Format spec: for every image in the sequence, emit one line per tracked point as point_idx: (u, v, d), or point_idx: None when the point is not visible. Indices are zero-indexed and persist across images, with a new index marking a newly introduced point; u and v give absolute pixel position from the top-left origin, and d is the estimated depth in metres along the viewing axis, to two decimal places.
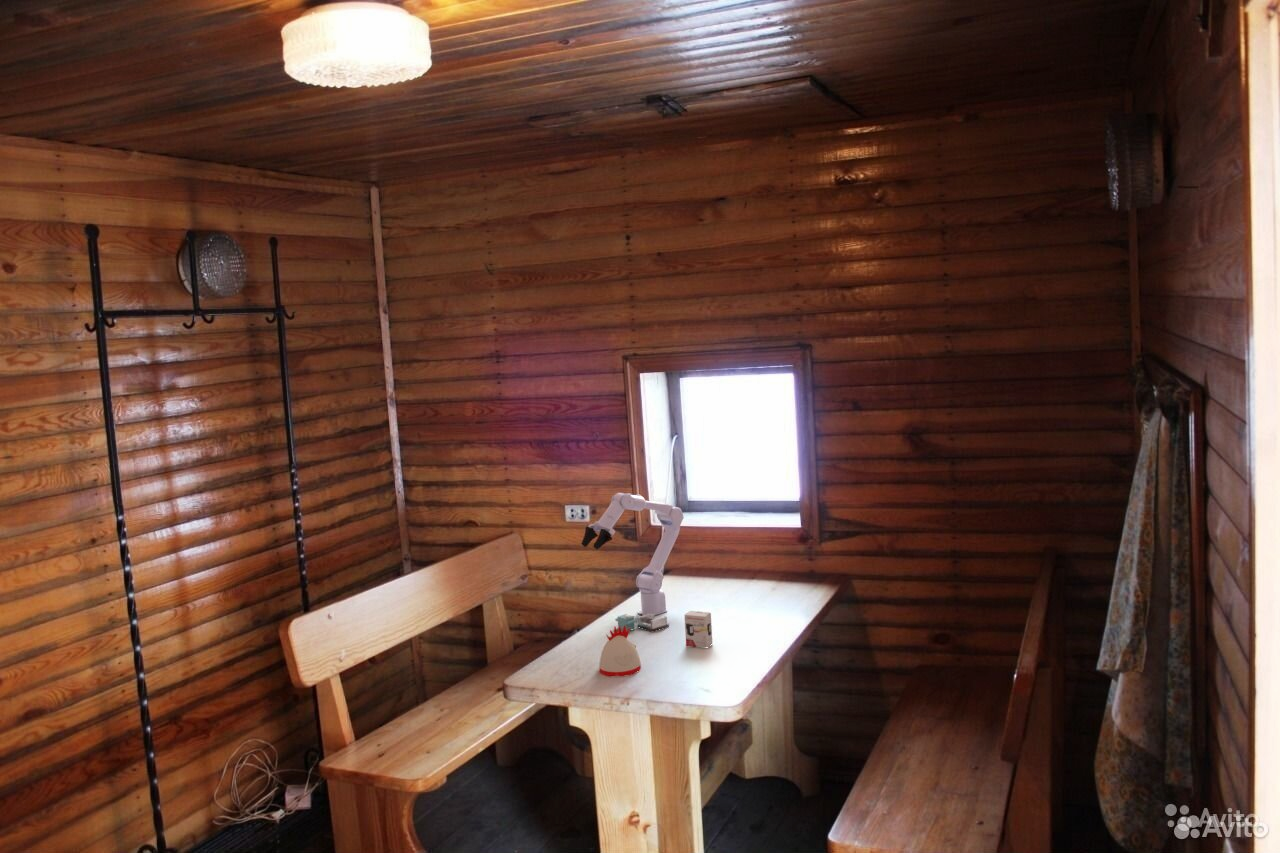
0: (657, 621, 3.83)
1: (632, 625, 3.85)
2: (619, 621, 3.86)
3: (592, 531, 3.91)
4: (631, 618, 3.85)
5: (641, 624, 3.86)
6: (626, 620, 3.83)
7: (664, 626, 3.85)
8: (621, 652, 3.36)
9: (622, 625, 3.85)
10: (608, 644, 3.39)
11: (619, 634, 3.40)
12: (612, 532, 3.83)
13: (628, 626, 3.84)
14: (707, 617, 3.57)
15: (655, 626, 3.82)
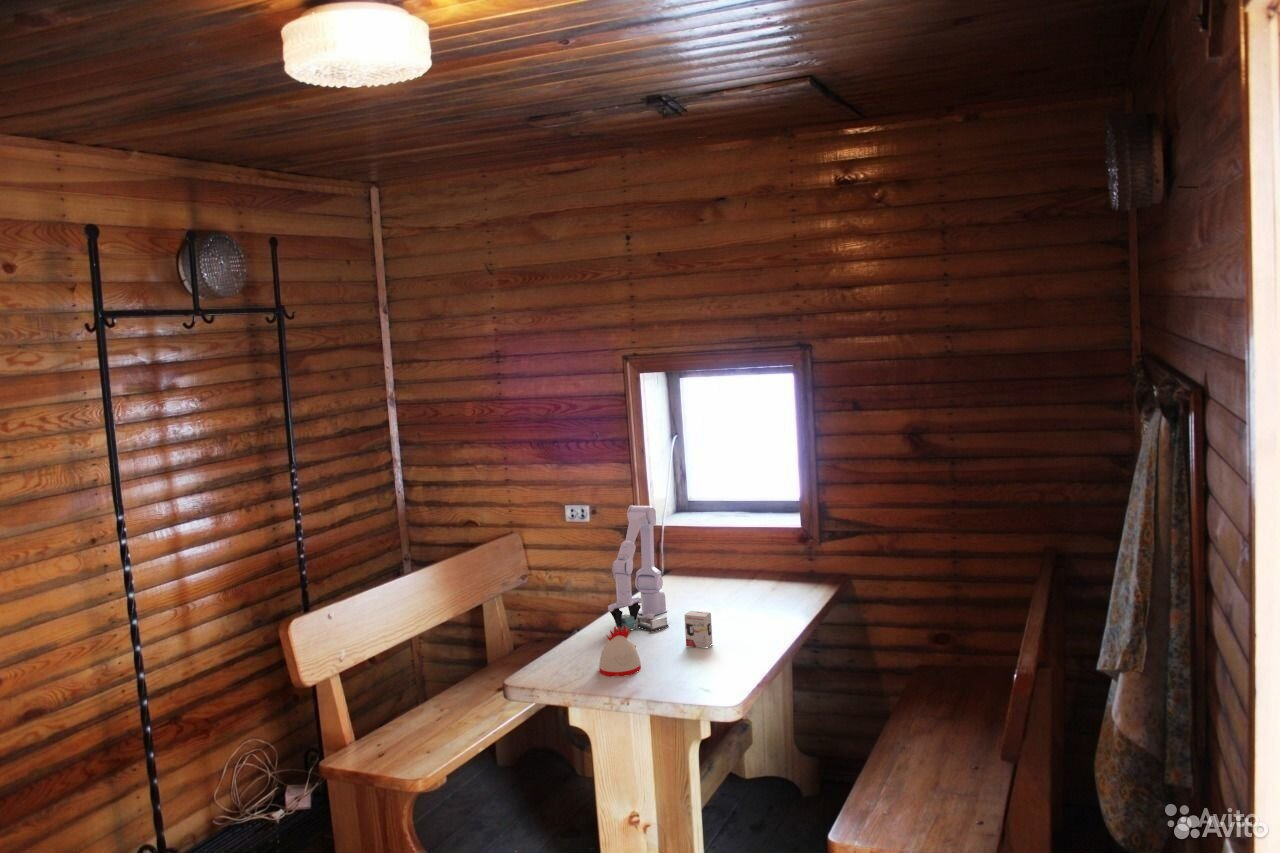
0: (657, 621, 3.83)
1: (632, 625, 3.85)
2: None
3: None
4: (631, 618, 3.85)
5: (641, 624, 3.86)
6: (626, 620, 3.83)
7: (664, 626, 3.85)
8: (621, 652, 3.36)
9: (622, 625, 3.85)
10: (608, 644, 3.39)
11: (619, 634, 3.40)
12: None
13: (628, 626, 3.84)
14: (707, 617, 3.57)
15: (655, 626, 3.82)
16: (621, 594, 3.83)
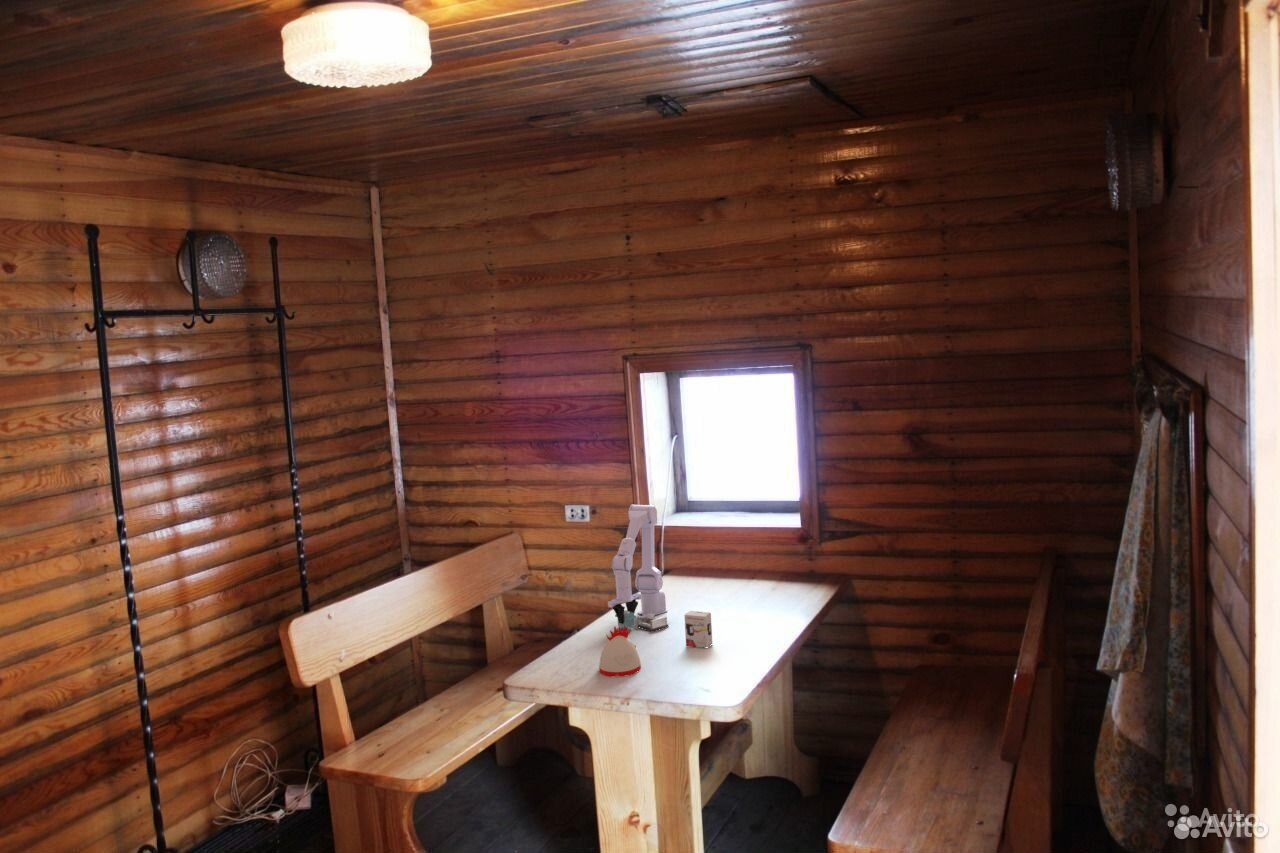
0: (657, 621, 3.83)
1: (632, 621, 3.85)
2: None
3: None
4: (631, 614, 3.85)
5: (641, 624, 3.86)
6: (626, 616, 3.83)
7: (664, 626, 3.85)
8: (621, 652, 3.36)
9: None
10: (608, 644, 3.39)
11: (619, 634, 3.40)
12: None
13: (628, 622, 3.84)
14: (706, 617, 3.57)
15: (655, 626, 3.82)
16: (621, 590, 3.82)
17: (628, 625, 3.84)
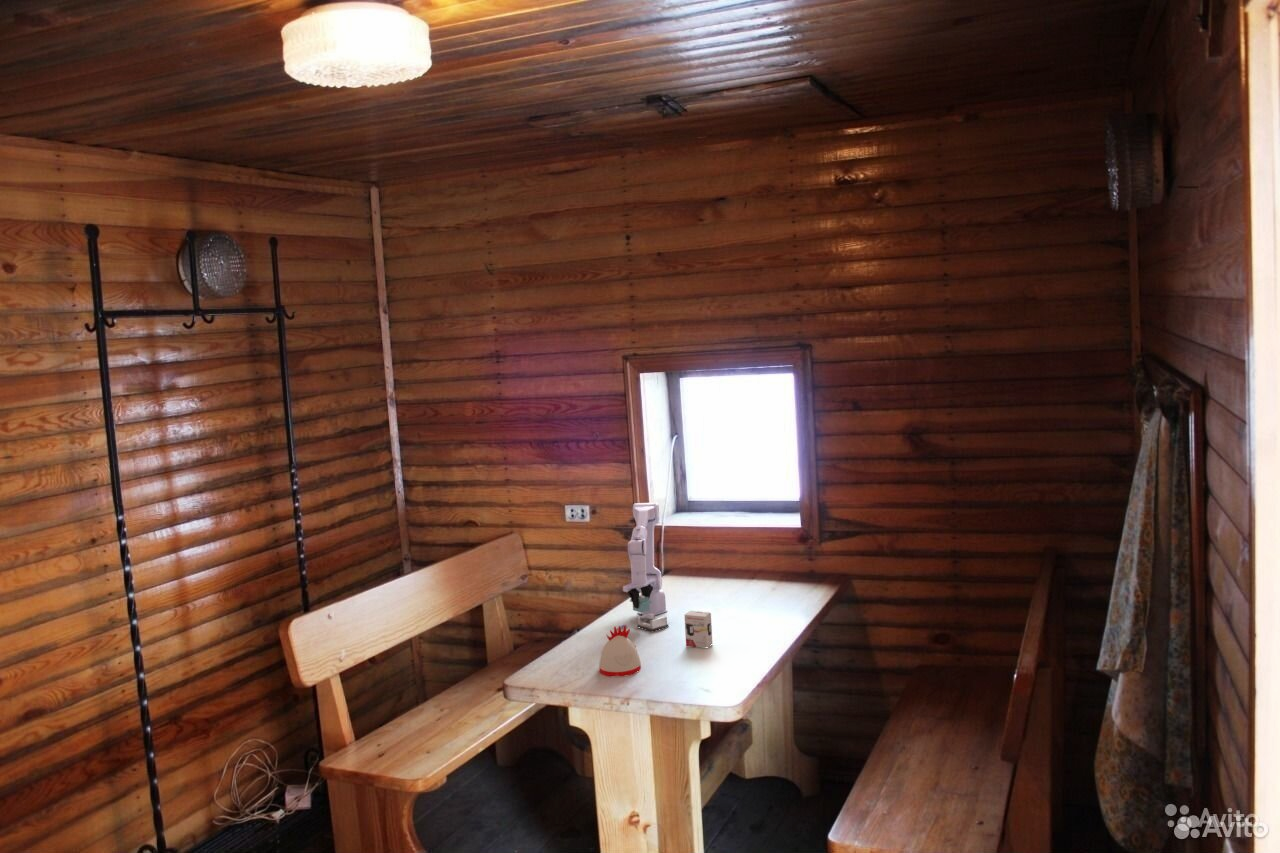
0: (657, 621, 3.83)
1: (647, 606, 3.85)
2: None
3: None
4: (645, 599, 3.84)
5: (641, 624, 3.86)
6: (641, 600, 3.83)
7: (664, 626, 3.85)
8: (621, 652, 3.36)
9: None
10: (608, 644, 3.39)
11: (619, 634, 3.40)
12: None
13: (643, 607, 3.83)
14: (707, 617, 3.57)
15: (655, 626, 3.82)
16: (636, 575, 3.82)
17: (643, 610, 3.84)
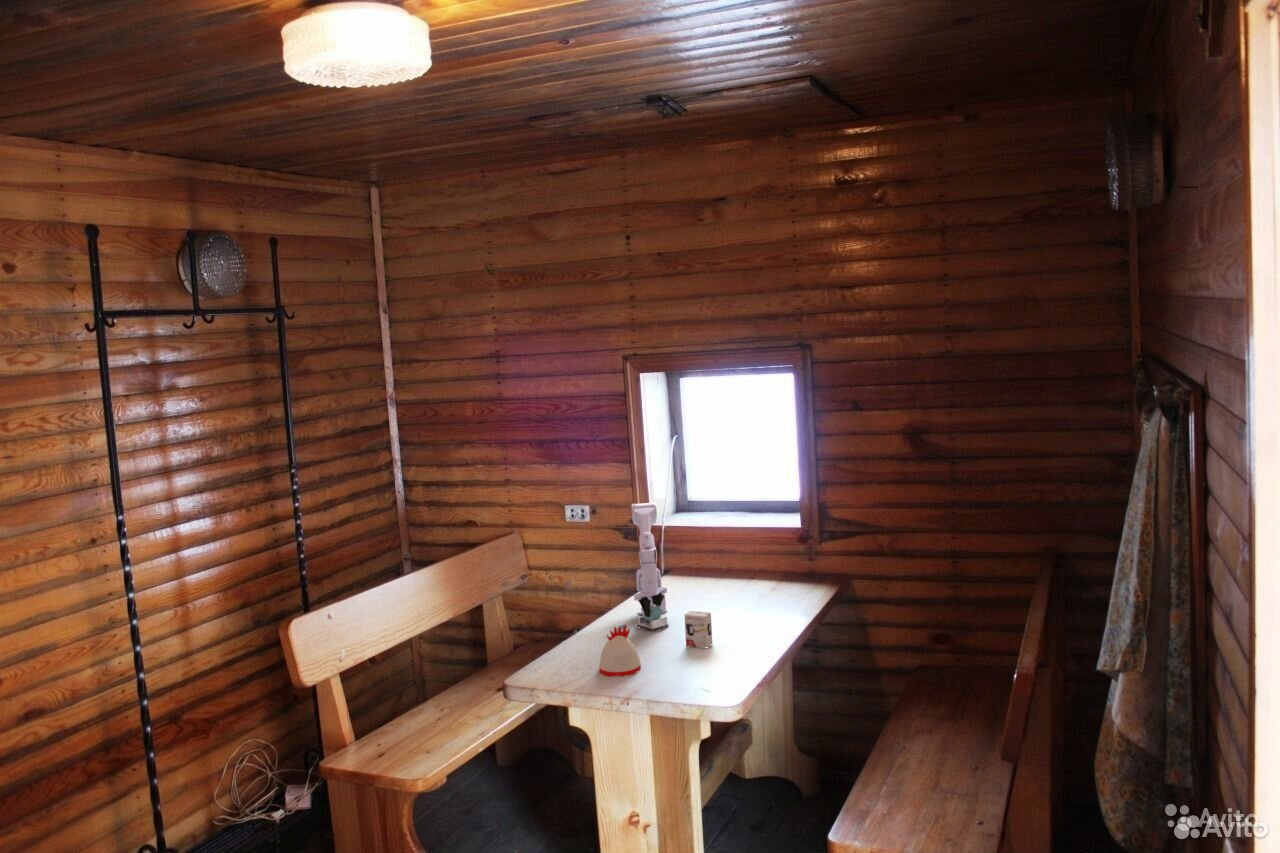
0: (657, 621, 3.83)
1: (658, 614, 3.85)
2: None
3: None
4: (657, 607, 3.85)
5: (641, 624, 3.86)
6: (652, 609, 3.83)
7: (664, 626, 3.85)
8: (621, 652, 3.36)
9: None
10: (608, 644, 3.39)
11: (619, 634, 3.40)
12: None
13: (654, 615, 3.84)
14: (707, 617, 3.57)
15: (655, 626, 3.82)
16: (647, 583, 3.83)
17: (654, 618, 3.84)
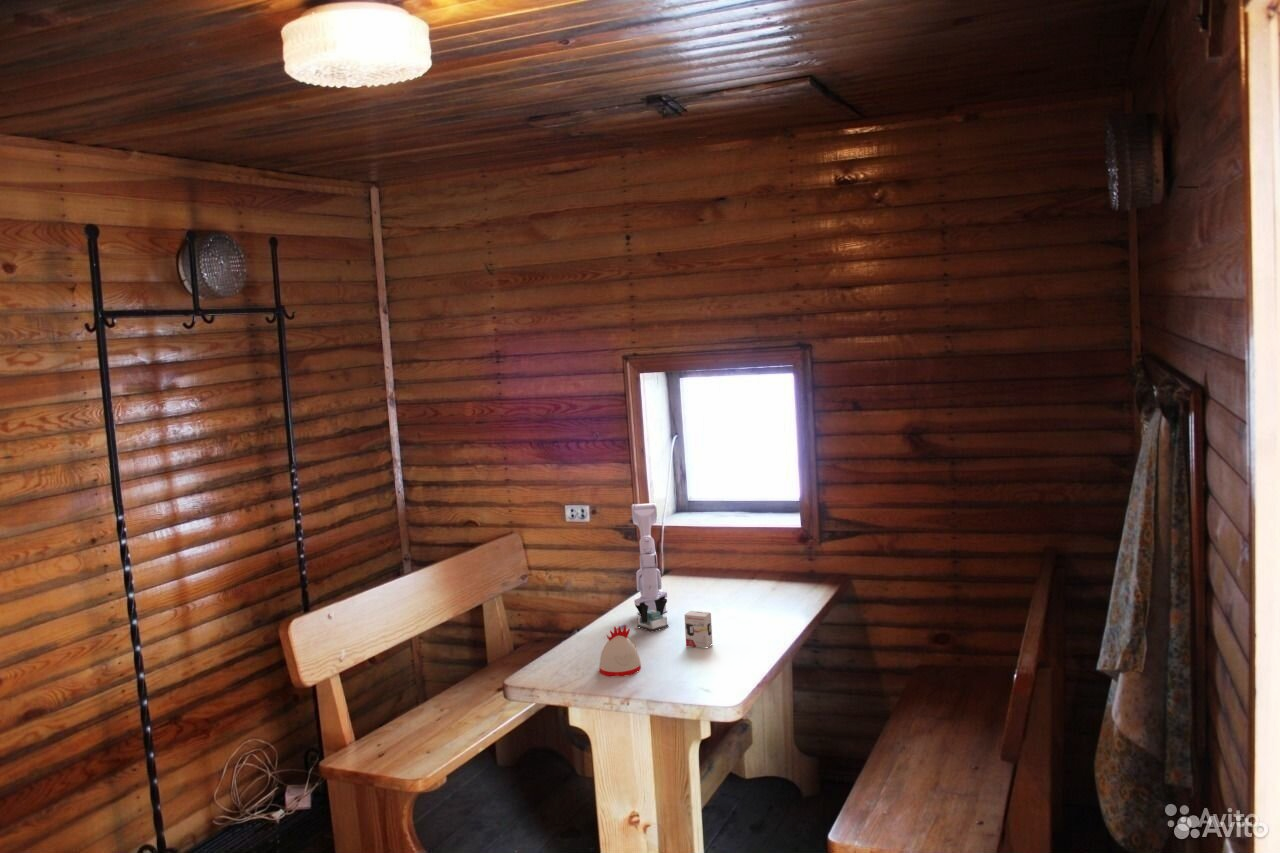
0: (657, 621, 3.83)
1: None
2: None
3: None
4: (657, 613, 3.85)
5: (641, 624, 3.86)
6: (653, 615, 3.84)
7: (664, 626, 3.85)
8: (621, 652, 3.36)
9: (648, 620, 3.85)
10: (608, 644, 3.39)
11: (619, 634, 3.40)
12: None
13: None
14: (707, 617, 3.57)
15: (655, 626, 3.82)
16: (647, 588, 3.83)
17: None
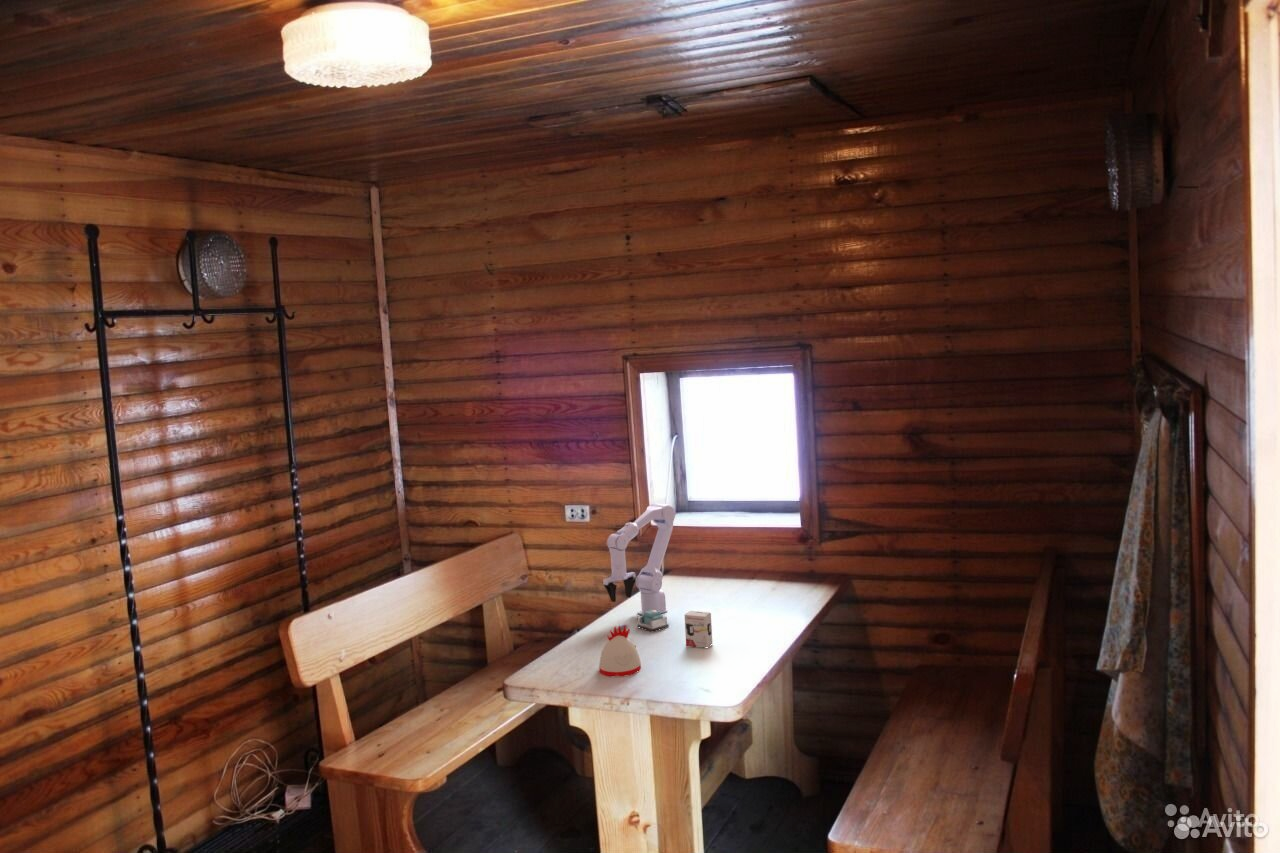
0: (657, 621, 3.83)
1: None
2: (645, 616, 3.86)
3: None
4: (657, 613, 3.85)
5: (641, 624, 3.86)
6: (653, 615, 3.84)
7: (664, 626, 3.85)
8: (621, 652, 3.36)
9: (648, 620, 3.85)
10: (608, 644, 3.39)
11: (619, 634, 3.40)
12: None
13: None
14: (706, 617, 3.57)
15: (655, 626, 3.82)
16: (616, 568, 3.91)
17: None
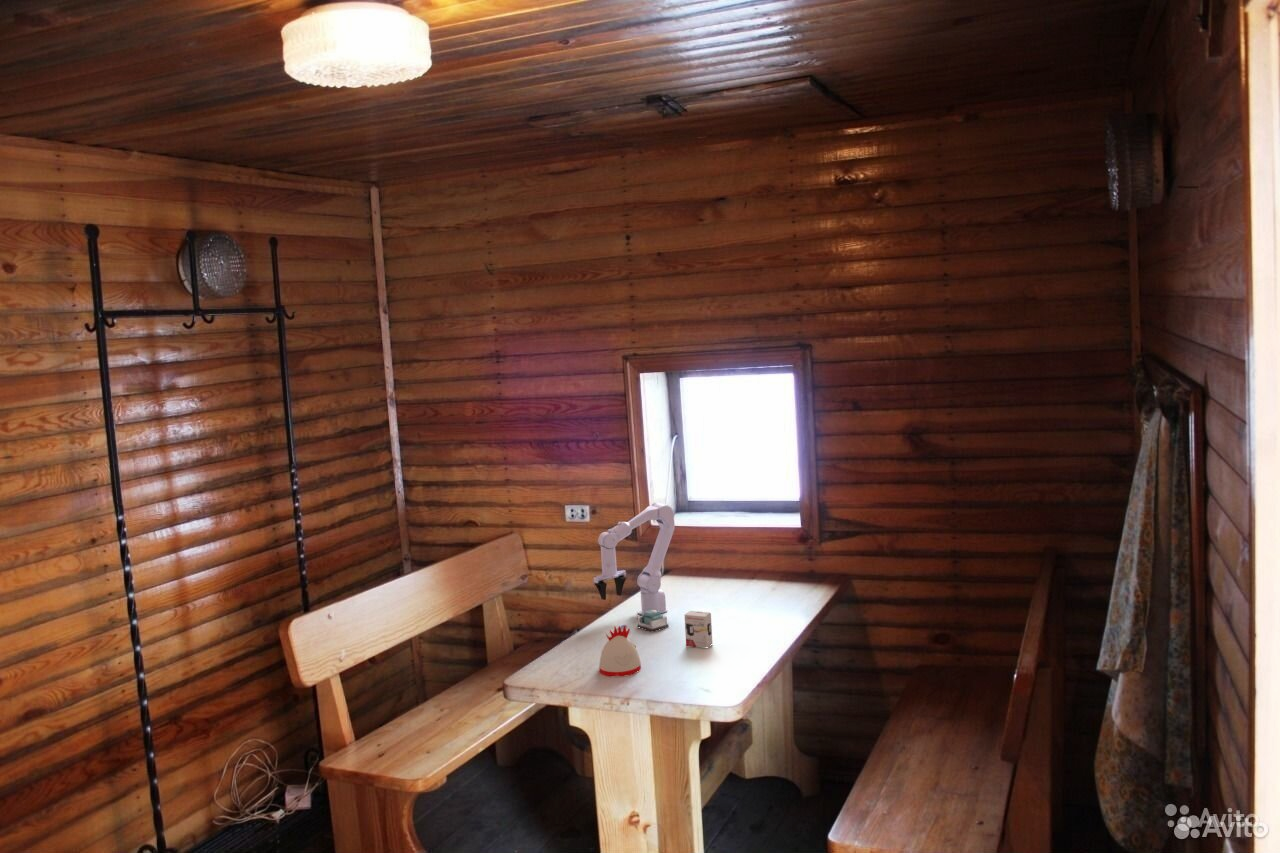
0: (657, 621, 3.83)
1: None
2: (645, 616, 3.86)
3: None
4: (657, 613, 3.85)
5: (641, 624, 3.86)
6: (653, 615, 3.84)
7: (664, 626, 3.85)
8: (621, 652, 3.36)
9: (648, 620, 3.85)
10: (608, 644, 3.39)
11: (619, 634, 3.40)
12: None
13: None
14: (707, 617, 3.57)
15: (655, 626, 3.82)
16: (606, 566, 3.94)
17: None
